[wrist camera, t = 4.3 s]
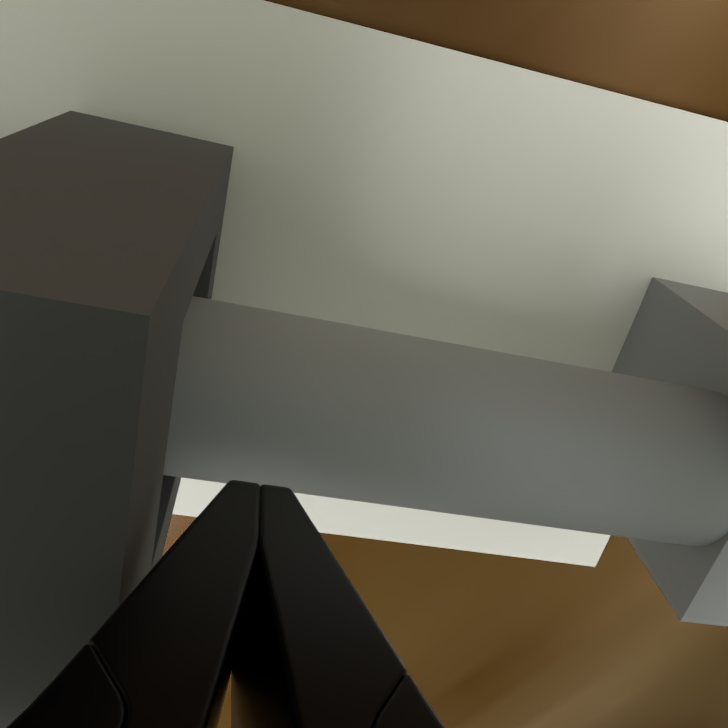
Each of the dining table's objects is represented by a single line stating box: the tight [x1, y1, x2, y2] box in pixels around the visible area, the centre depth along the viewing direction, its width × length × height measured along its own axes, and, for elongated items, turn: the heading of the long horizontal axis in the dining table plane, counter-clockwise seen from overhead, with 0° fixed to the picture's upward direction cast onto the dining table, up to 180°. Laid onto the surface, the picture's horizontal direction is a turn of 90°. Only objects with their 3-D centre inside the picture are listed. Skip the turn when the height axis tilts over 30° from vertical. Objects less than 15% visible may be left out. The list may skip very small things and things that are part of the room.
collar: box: [0, 111, 234, 728], centre depth 11 cm, size 3×7×8 cm, turn 166°
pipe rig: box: [0, 0, 728, 626], centre depth 13 cm, size 26×12×7 cm, turn 77°
